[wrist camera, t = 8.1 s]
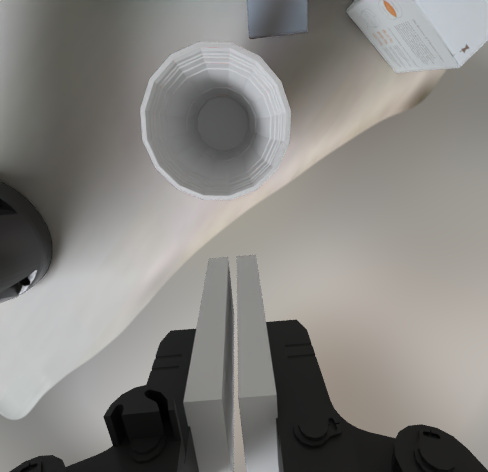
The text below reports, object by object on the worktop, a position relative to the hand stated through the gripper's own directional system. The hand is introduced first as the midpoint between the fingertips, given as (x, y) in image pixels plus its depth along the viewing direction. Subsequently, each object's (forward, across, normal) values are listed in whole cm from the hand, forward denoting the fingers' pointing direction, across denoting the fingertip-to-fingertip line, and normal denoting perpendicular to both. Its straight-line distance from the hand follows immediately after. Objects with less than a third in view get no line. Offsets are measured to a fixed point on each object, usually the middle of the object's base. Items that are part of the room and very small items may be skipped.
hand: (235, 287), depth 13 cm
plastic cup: (+25, -1, +6) cm, 25 cm away
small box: (+24, +16, +14) cm, 32 cm away
